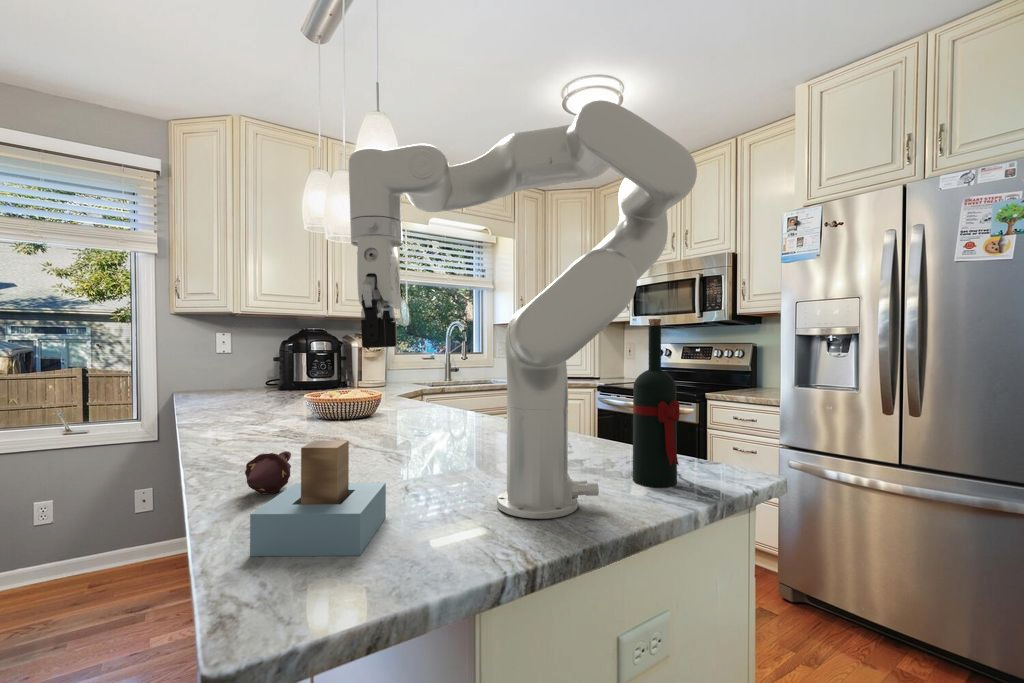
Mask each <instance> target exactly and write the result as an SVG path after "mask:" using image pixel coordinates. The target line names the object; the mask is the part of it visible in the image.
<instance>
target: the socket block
mask: <svg viewBox="0 0 1024 683" xmlns="http://www.w3.org/2000/svg"><path fill="white" fill-rule="evenodd" d="M386 485H387V483H386V482H349V491H348V498H347V499H346V500H345V501H344V502H343V503H342V504H317V505H301V482H296V483H294V484H292V485H291V486H290V487H288V488H286V489H285V490H284V491H282V492H281V493H279V494H278V495H276V496H275V497H274V498H272V499H271V500H269V501H267V502H266V503H264V504H263V505H261V506H260V507H259V508H257V509H255V510H254V511H253V512H251V513H250V516H249V557H313V556H314V557H316V556H317V557H318V556H319V557H321V556H322V557H323V556H326V557H329V556H330V557H331V556H335V557H337V556H338V557H340V556H343V557H345V556H347V557H348V556H361V555H362V553H363V552H364V550H365V549H366V547H367V546H368V544H369V543H370V541H371V540H372V538H373V536H374V535H375V533H377V531H378V529H379V528H380V526H381V525H382V523H383V522H384V521H385V518H386V516H387V513H386V511H387V509H386V508H387V507H386V506H387V505H386V503H387V502H386V501H387V500H386V498H387V494H386V492H387V491H386V488H387V486H386Z"/></svg>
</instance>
